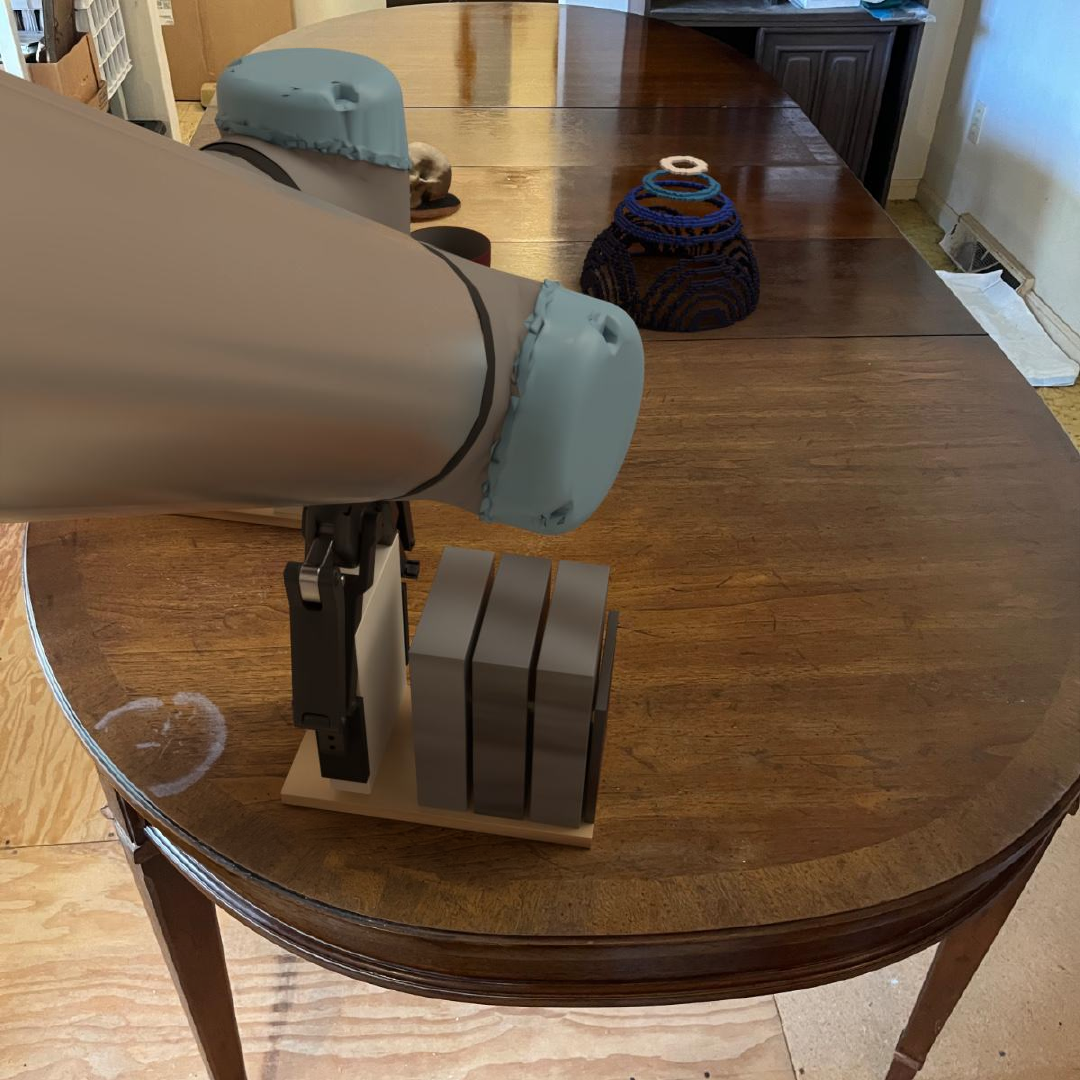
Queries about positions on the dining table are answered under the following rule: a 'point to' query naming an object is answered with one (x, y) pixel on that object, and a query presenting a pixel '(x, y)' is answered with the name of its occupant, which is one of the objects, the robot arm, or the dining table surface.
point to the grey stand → (494, 705)
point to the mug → (457, 242)
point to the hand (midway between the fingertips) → (368, 713)
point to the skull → (430, 182)
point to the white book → (379, 659)
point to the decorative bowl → (651, 245)
